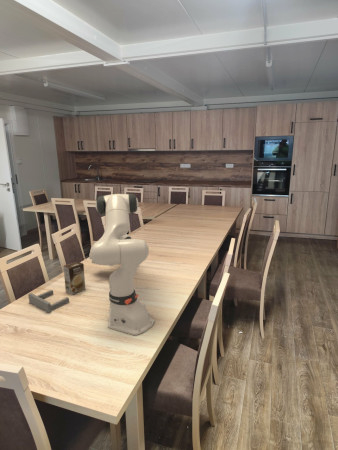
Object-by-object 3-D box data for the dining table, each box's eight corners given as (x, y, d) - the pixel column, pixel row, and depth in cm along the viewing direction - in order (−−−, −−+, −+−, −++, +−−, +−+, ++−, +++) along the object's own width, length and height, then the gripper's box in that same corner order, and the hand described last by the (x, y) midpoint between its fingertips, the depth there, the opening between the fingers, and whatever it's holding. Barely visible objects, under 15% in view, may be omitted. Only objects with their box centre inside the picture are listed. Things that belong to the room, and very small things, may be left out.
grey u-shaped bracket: (70, 302, 154) (69, 294, 153) (48, 313, 144) (47, 304, 143) (50, 293, 164) (49, 285, 163) (29, 302, 155) (28, 293, 153)
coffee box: (71, 295, 162) (69, 268, 157) (65, 292, 165) (62, 265, 161) (86, 289, 168) (83, 263, 164) (79, 286, 172) (77, 260, 168)
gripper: (99, 247, 190) (81, 253, 180) (121, 254, 178) (104, 261, 168) (99, 256, 192) (82, 263, 181) (122, 263, 180) (104, 271, 169)
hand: (93, 262), depth 174 cm, fingers closed
